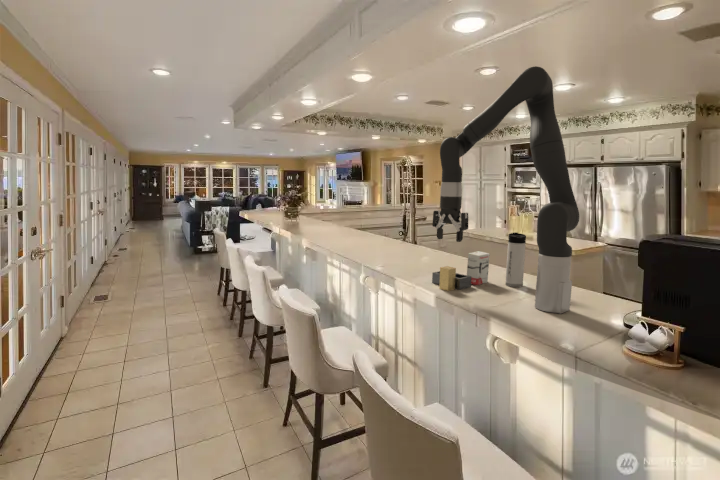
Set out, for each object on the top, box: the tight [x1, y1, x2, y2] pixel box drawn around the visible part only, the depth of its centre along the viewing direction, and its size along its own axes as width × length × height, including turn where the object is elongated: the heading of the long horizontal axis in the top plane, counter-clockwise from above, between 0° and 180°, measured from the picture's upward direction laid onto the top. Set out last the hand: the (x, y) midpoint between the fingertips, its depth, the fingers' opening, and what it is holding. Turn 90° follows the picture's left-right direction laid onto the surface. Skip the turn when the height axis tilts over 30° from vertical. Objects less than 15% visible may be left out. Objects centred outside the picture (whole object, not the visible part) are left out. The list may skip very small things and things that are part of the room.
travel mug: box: [505, 232, 527, 288], centre depth 157 cm, size 6×7×20 cm
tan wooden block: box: [438, 265, 457, 292], centre depth 151 cm, size 4×4×8 cm
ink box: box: [466, 250, 491, 286], centre depth 161 cm, size 8×5×12 cm, turn 134°
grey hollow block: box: [431, 270, 472, 291], centre depth 157 cm, size 13×7×4 cm, turn 40°
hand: (449, 240), depth 149 cm, fingers open, 8 cm apart
